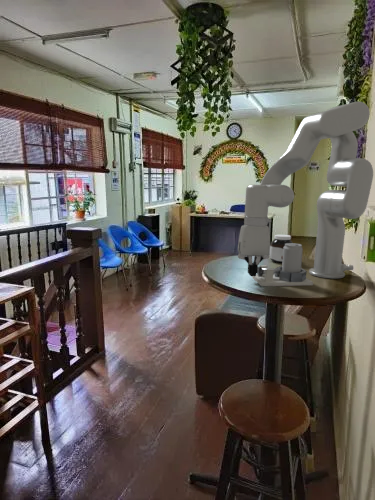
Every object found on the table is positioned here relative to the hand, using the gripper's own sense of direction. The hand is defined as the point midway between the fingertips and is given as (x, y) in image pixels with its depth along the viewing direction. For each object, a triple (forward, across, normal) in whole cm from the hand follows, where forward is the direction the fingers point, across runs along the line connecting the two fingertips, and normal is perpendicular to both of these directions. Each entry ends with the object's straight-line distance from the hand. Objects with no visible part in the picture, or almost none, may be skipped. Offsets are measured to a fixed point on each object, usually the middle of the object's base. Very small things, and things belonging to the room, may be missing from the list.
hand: (252, 275), depth 119 cm
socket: (+1, -14, 0) cm, 14 cm away
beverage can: (+1, -14, 0) cm, 14 cm away
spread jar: (+3, -24, -31) cm, 39 cm away
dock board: (+2, -11, 0) cm, 11 cm away
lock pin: (+1, -6, 0) cm, 6 cm away
